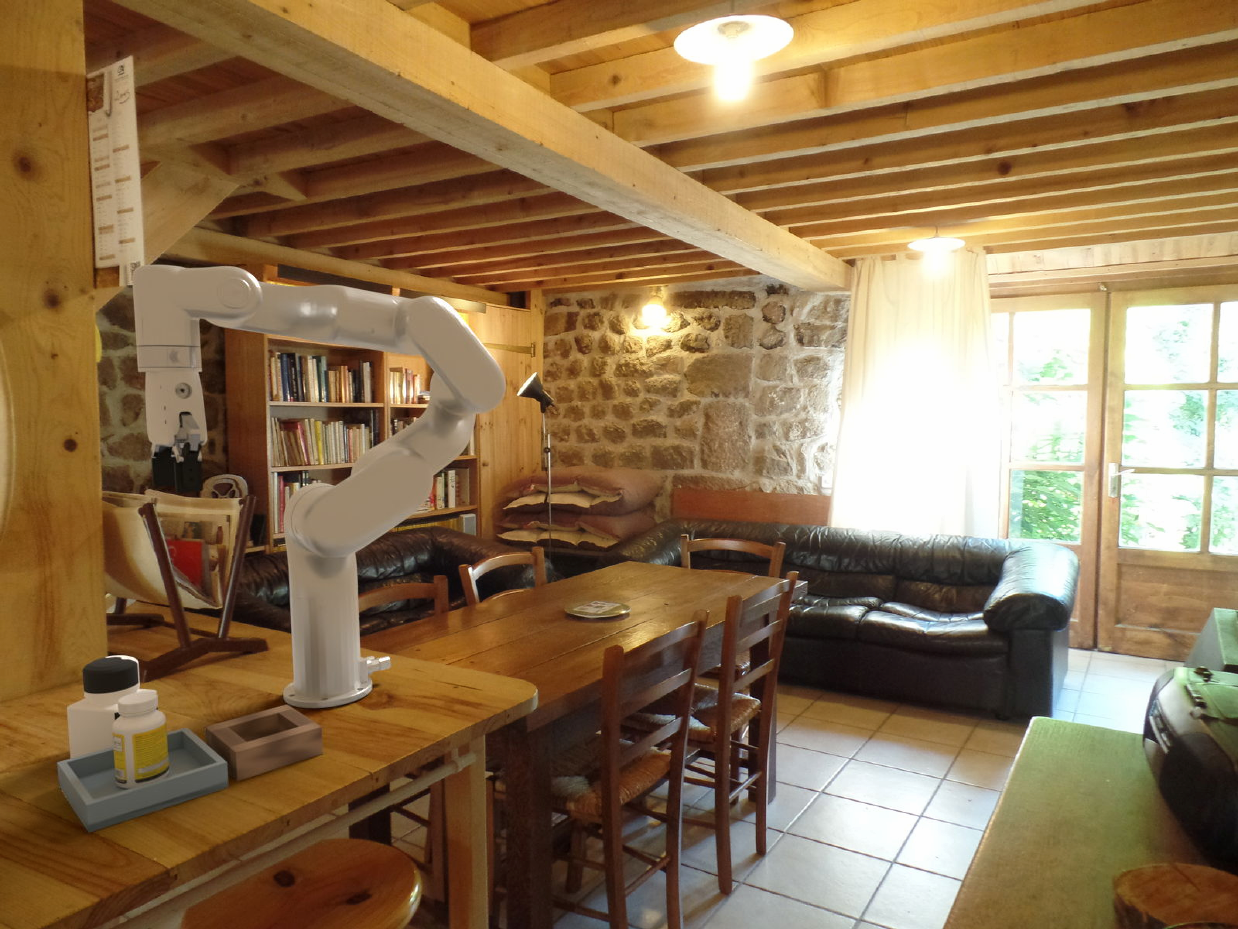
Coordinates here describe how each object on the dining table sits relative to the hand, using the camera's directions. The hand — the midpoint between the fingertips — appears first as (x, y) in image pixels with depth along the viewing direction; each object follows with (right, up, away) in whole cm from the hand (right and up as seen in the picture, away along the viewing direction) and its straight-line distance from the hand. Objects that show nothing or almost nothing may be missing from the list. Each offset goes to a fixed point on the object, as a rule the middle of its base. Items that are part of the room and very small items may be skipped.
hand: (177, 488), depth 114 cm
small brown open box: (+15, -33, -8) cm, 37 cm away
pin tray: (+5, -34, -16) cm, 38 cm away
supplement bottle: (+4, -33, -16) cm, 37 cm away
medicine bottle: (-4, -33, -7) cm, 34 cm away
